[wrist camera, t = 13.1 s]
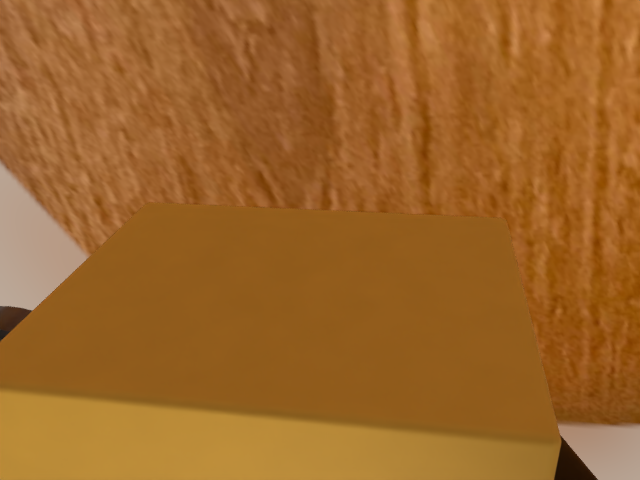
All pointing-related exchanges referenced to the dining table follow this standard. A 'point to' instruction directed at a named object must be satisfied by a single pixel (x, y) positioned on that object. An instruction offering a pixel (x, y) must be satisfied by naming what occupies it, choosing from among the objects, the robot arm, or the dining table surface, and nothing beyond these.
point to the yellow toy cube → (282, 353)
